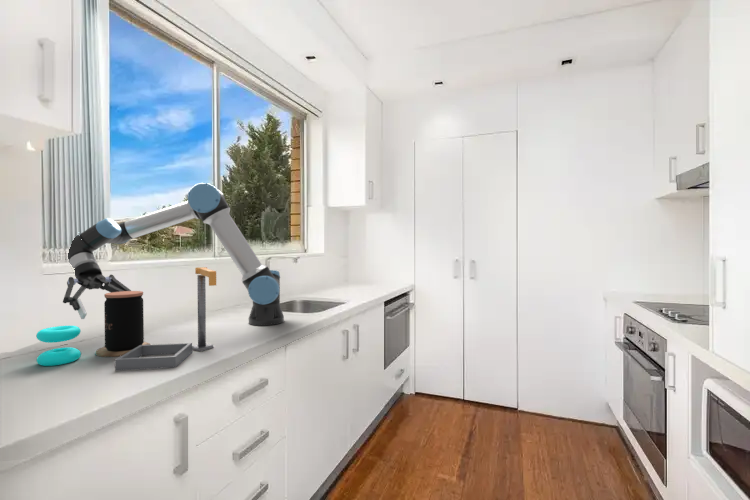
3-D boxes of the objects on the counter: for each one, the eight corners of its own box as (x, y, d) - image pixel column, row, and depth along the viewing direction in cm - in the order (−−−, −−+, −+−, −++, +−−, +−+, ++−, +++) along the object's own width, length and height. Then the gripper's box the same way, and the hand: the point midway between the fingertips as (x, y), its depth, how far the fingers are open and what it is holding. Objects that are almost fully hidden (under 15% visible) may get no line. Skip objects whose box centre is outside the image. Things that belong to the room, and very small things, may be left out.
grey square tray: (192, 352, 121) (192, 342, 121) (175, 367, 105) (175, 356, 105) (140, 354, 118) (139, 345, 118) (115, 370, 103) (115, 359, 103)
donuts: (74, 330, 108) (30, 333, 104) (75, 364, 108) (30, 369, 104) (84, 323, 117) (43, 326, 113) (84, 355, 117) (44, 359, 113)
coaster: (158, 343, 132) (158, 340, 132) (139, 355, 117) (139, 353, 117) (110, 345, 129) (110, 342, 129) (85, 358, 114) (85, 355, 114)
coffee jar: (109, 345, 126) (108, 291, 125) (146, 342, 130) (145, 290, 130) (100, 353, 116) (100, 295, 116) (141, 349, 120) (140, 294, 120)
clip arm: (194, 280, 125) (194, 267, 125) (206, 279, 127) (206, 267, 127) (206, 285, 107) (206, 271, 107) (219, 285, 109) (219, 270, 109)
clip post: (203, 345, 128) (203, 274, 128) (213, 347, 126) (212, 274, 125) (190, 349, 124) (189, 275, 123) (199, 351, 121) (199, 275, 121)
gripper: (119, 272, 147) (141, 314, 140) (38, 277, 126) (59, 327, 119) (126, 259, 145) (149, 301, 137) (45, 262, 123) (66, 311, 116)
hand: (107, 313), depth 128 cm, fingers open, 13 cm apart
